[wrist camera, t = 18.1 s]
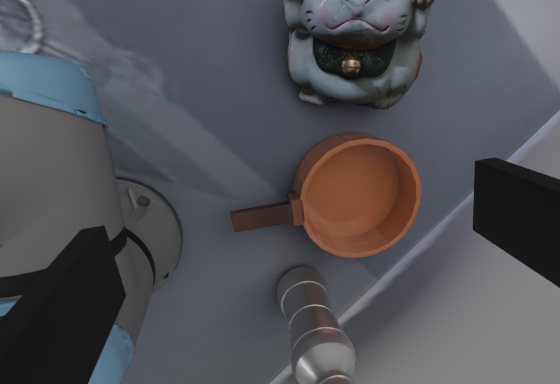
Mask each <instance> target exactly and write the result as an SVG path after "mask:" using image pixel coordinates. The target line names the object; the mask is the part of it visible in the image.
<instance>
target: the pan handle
mask: <svg viewBox="0 0 560 384" xmlns="http://www.w3.org/2000/svg"><path fill="white" fill-rule="evenodd" d="M287 195H288V201H287V202H281V203H276V204H270V205H264V206H259V207H253V208H247V209H241V210H236V211H231V217H232V222H233V227H234V232H239V231H245V230H250V229H256V228H261V227H267V226H272V225H278V224H284V223H289V222H293V225H294V226H300V225H303V223H302V222H305V221H304V220H305V219H304V220H303V219H302V217H304V216H302V215H304V214H301V211H302V209H301V207H300V205H301V204H302V203H303V201H302V200H301V201H300V198H299V197H298V195H297V193H296V192H294V193H289V194H287ZM301 206H303V204H302V205H301ZM303 210H304V209H303ZM302 212H303V211H302ZM303 213H304V212H303ZM301 216H302V217H301ZM302 220H303V221H302ZM304 224H305V223H304Z"/></svg>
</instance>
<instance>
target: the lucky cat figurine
mask: <svg viewBox="0 0 560 384" xmlns="http://www.w3.org/2000/svg"><path fill="white" fill-rule="evenodd" d="M283 1H284V6H285V20H286V23H287V25H289V46H288V51H287V62H288V68H289V71H290V76H291V78H292V79H293V80H294V81H295V82H296V83H298V84H299V85H300V92H299V95H298V96H299V98H301V100H304V101H308V102H310V103H313V104H319V105H324V104H328V103H333V102H338V103H345V104H356V105H362V106H366V107H370V108H374V109H388V108H390V107H391V106H393V105H394V104H396V103H397V102H398V101H399V100H400V99H401V98H402V96H403V95H404V94H405V93H406V92H407V91H408V89H409V88H410V86H411V85H412V84H413V82H414V81H415V79H416V78H417V76H418V73H419V70H420V65H421V62H422V56H421V52H420V49H419V39H421V37H422V36H423V34H424V33H425V31H424V30H425V27H426V24H427V20H428V15H429V12H430V8H431V5H432V3H433V2H434V0H283Z"/></svg>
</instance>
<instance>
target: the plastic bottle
mask: <svg viewBox="0 0 560 384" xmlns="http://www.w3.org/2000/svg"><path fill="white" fill-rule="evenodd" d="M277 301H278V303H279V306H280V308H281V310H282V312H283V313H284V315H285V318H286V320H287V323H288V326H289V332H290V339H291V364H292V371H293V374H294V376H295V377H296V379H297V380H298V382H299V383H300V384H354V381H353V379H352V376H353V373H354V370H355V365H356V359H355V350H354V347H353V345H352V343H351V341H350V340H349V338H348V337H347V335H346V334H345V332H344V331H343V329H342V328H341V327H340V325H339V323H338V321H337V319H336V317H335V316H334V313H333V311H332V309H331V305H330V302H329V295H328V288H327V284H326V281H325V280H324V278H323V277H322V276H321V275H320V274H319V273H318V272H317V271H316V270H315V269H313V268H310V267H297V268H294V269H291V270H290V271H288V272H287V273H285V274H284V275H283V277H282V278H281V279H280V281H279V283H278V288H277Z"/></svg>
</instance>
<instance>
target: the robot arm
mask: <svg viewBox="0 0 560 384" xmlns="http://www.w3.org/2000/svg"><path fill="white" fill-rule="evenodd" d="M106 128H108V124H107V121H106V120H105V119H104V118H103V116H102V112H101V108H100V104H99V100H98V96H97V92H96V88H95V85H94V82H93V80H92V78H91V76H90V75H89V74H88V73H87V72H86V71H85V70H84V69H83V68H81V67H80V66H79V65H77V64H75V63H72V62H70V61H67V60H63V59H59V58H55V57H49V56H43V55H36V54H29V53H21V52H13V51H4V50H0V384H120V383H121V381H122V379H123V377H124V375H125V373H126V371H127V369H128V367H129V366H130V363H131V362H132V359H133V356H134V348H135V345H136V341H137V338H138V335H139V332H140V329H141V325H142V322H143V319H144V316H145V313H146V309H147V306H148V303H149V300H150V297H151V293H153V292H154V291H155V290H156V289H157V288H158V287H159V286H161V285H162V284H163V283H164V282H165V281H166V280H167V279H168V277H169V276H170V275H171V273H172V272H173V270H174V268H175V266H176V265H177V262H178V260H179V257H180V253H181V249H182V242H183V235H182V227H181V224H180V220H179V218H178V216H177V214H176V212H175V210H174V209H173V207H172V206H171V204H170V203H169V202H168V201H167V200H166V199H165V198H164V197H163V196H162V195H161V194H160V193H159V192H157V191H156V190H154V189H153V188H151V187H149V186H148V185H146V184H143V183H141V182H139V181H136V180H132V179H128V178H122V177H115V172H114V167H113V162H112V157H111V153H110V148H109V143H108V138H107V133H106ZM473 212H474V213H473V230H474V231H475V232H477V233H478V234H480V235H481V236H483V237H484V238H486V239H487V240H489V241H490V242H492V243H493V244H495V245H496V246H498V247H499V248H501V249H502V250H504V251H505V252H507V253H508V254H510V255H511V256H513V257H514V258H516V259H517V260H519V261H520V262H522V263H523V264H525V265H526V266H528V267H529V268H531V269H532V270H534V271H535V272H537V273H539V274H540V275H541V276H543V277H545V278H546V279H547V280H549V281H550V282H552V283H554V284H555V285H556V286H558V287H560V180H559V179H556V178H553V177H551V176H548V175H545V174H542V173H539V172H536V171H533V170H530V169H527V168H524V167H521V166H518V165H515V164H512V163H509V162H507V161H504V160H501V159H498V158H489V159H484V160H478V161H475V177H474V209H473Z"/></svg>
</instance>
